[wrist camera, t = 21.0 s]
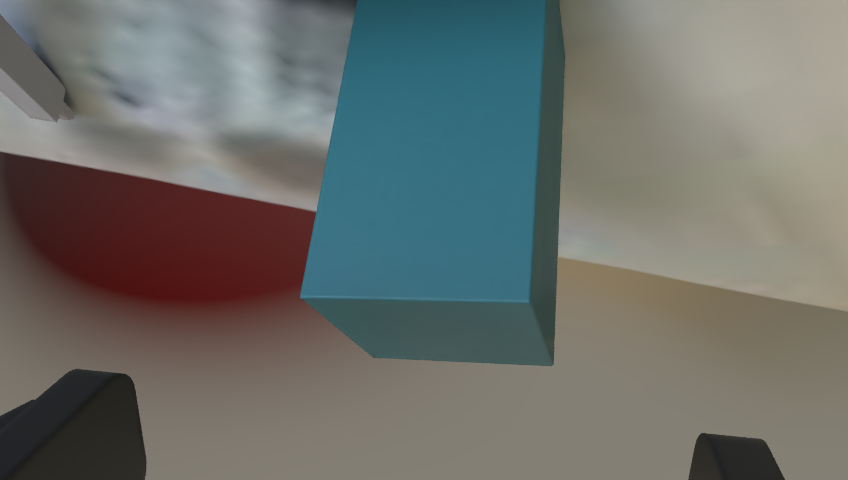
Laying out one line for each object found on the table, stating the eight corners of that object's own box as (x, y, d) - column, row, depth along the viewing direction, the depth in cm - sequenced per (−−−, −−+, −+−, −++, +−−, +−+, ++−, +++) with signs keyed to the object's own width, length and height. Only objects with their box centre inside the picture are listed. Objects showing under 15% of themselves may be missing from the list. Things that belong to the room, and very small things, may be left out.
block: (550, -72, 17) (531, 302, 14) (565, 56, 22) (553, 366, 18) (365, -48, 19) (298, 297, 15) (414, 67, 23) (372, 358, 19)
